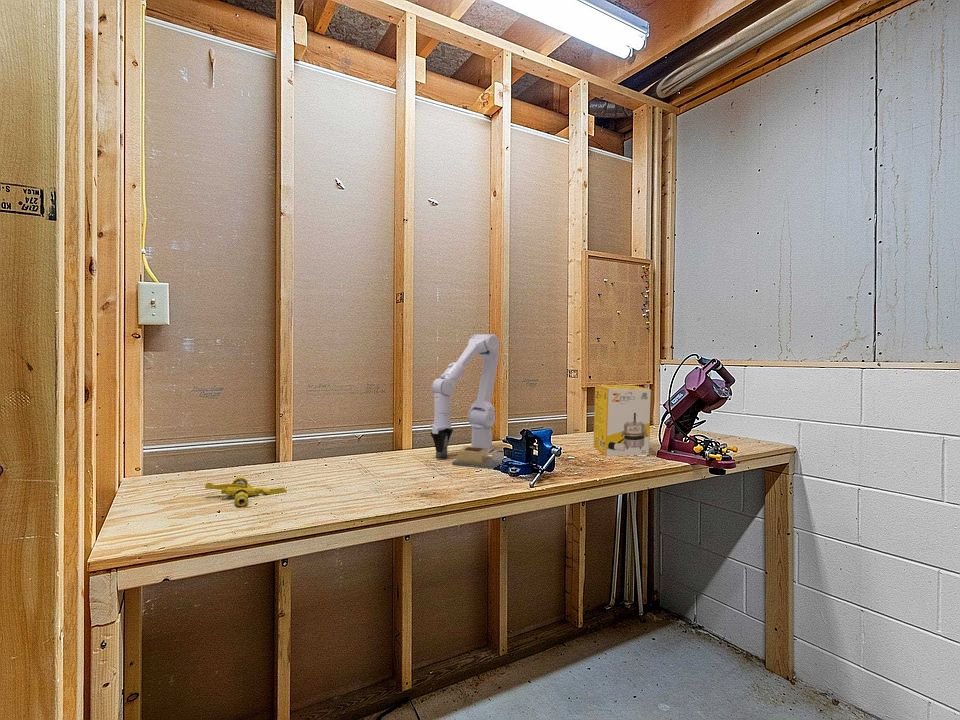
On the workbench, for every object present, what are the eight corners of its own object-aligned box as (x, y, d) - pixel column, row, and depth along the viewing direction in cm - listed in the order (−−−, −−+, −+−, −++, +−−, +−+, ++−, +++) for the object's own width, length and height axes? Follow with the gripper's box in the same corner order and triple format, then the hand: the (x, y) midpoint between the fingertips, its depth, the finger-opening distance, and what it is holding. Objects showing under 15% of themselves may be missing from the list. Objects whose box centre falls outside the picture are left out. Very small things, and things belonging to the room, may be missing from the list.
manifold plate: (462, 457, 178) (463, 444, 178) (512, 461, 173) (512, 448, 173) (452, 465, 166) (452, 451, 166) (505, 469, 162) (505, 456, 162)
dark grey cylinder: (438, 455, 179) (438, 433, 179) (448, 456, 178) (449, 434, 178) (434, 458, 176) (434, 435, 175) (444, 459, 175) (445, 436, 174)
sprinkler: (204, 493, 117) (206, 475, 130) (201, 510, 117) (203, 490, 130) (291, 494, 126) (285, 478, 139) (289, 510, 126) (282, 492, 139)
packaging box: (632, 447, 202) (634, 385, 201) (648, 456, 186) (651, 389, 185) (593, 446, 201) (595, 384, 200) (606, 456, 185) (608, 388, 184)
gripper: (438, 409, 184) (438, 445, 185) (424, 414, 171) (423, 454, 171) (456, 410, 183) (456, 447, 183) (443, 415, 169) (442, 455, 169)
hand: (441, 450), depth 177 cm, fingers closed on dark grey cylinder, 4 cm apart
